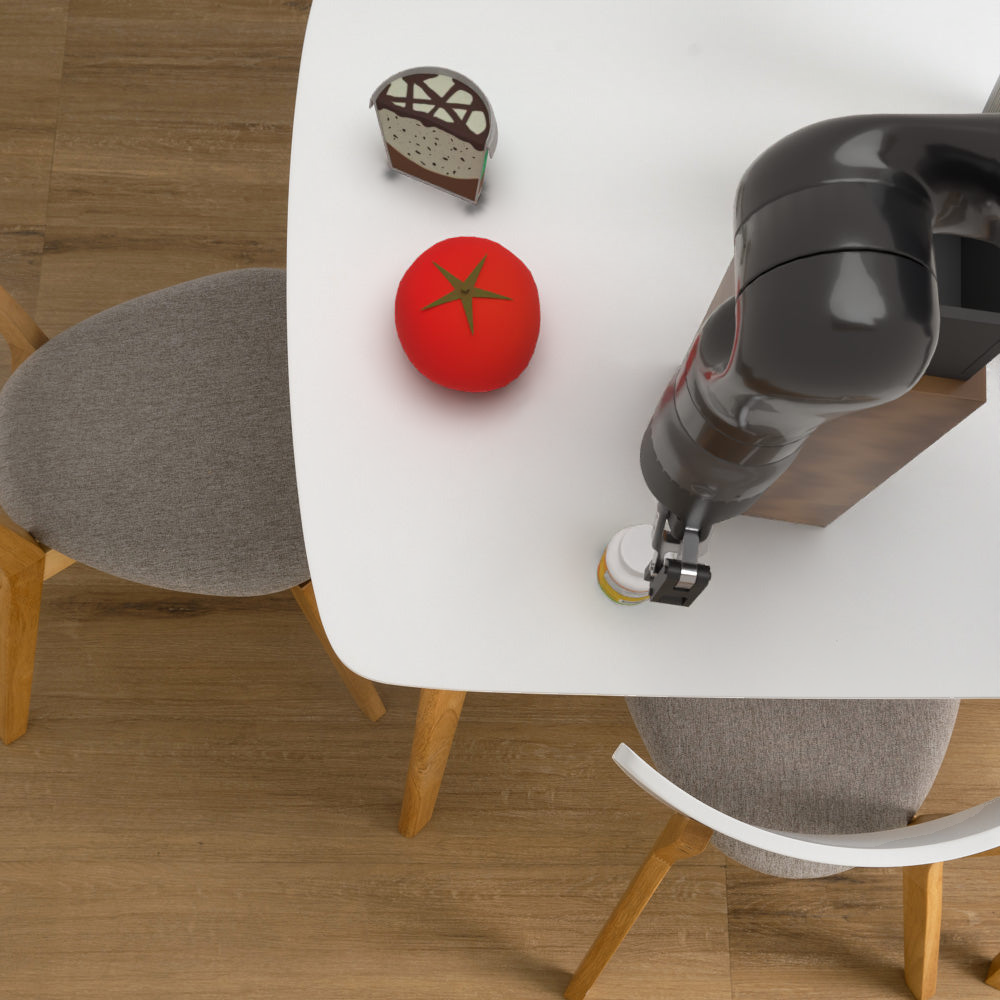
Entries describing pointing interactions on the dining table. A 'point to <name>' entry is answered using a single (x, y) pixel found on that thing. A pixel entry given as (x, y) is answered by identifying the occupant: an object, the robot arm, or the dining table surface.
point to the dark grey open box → (966, 306)
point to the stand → (861, 444)
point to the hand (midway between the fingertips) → (664, 518)
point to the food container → (437, 128)
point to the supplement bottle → (627, 565)
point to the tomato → (468, 314)
